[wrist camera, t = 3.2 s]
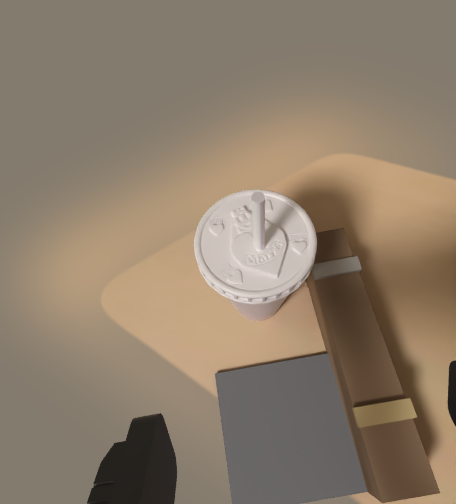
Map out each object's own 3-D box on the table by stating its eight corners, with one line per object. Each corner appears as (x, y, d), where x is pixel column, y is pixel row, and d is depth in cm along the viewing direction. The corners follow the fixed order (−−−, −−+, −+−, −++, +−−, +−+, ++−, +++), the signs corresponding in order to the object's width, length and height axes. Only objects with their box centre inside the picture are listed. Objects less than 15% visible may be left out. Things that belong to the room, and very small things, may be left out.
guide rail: (336, 246, 27) (345, 224, 24) (417, 481, 20) (446, 494, 17) (297, 253, 27) (301, 233, 24) (364, 490, 20) (382, 505, 17)
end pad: (327, 353, 23) (328, 353, 23) (366, 490, 20) (367, 491, 19) (215, 374, 23) (214, 373, 23) (234, 513, 20) (233, 514, 20)
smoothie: (238, 354, 24) (210, 291, 11) (203, 280, 27) (149, 163, 14) (316, 315, 25) (370, 213, 12) (273, 247, 27) (282, 106, 15)
